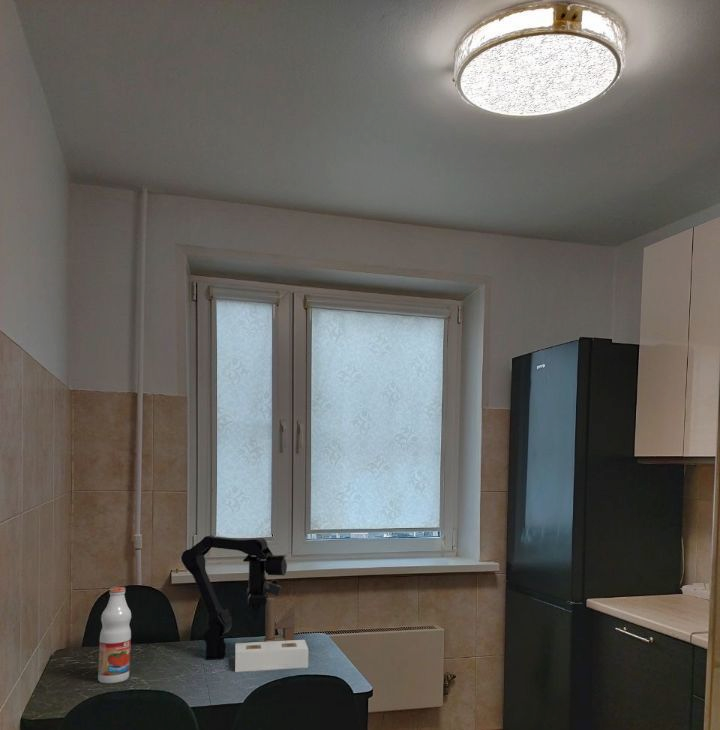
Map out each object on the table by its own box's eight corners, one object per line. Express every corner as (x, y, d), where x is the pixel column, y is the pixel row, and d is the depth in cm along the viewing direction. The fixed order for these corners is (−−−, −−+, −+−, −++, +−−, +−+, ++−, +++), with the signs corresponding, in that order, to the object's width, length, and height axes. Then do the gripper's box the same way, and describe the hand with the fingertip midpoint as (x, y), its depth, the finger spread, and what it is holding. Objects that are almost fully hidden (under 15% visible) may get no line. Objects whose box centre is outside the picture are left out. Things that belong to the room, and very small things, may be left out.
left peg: (246, 666, 226) (247, 649, 227) (246, 662, 230) (246, 645, 231) (260, 665, 227) (260, 648, 227) (259, 661, 231) (259, 645, 232)
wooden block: (294, 648, 250) (294, 597, 252) (265, 651, 246) (266, 599, 249) (291, 645, 253) (292, 595, 256) (263, 648, 249) (264, 597, 252)
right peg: (282, 664, 228) (282, 647, 229) (281, 660, 232) (282, 643, 233) (295, 663, 229) (295, 646, 230) (294, 659, 233) (294, 643, 234)
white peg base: (235, 671, 221) (235, 652, 222) (235, 661, 233) (235, 643, 234) (308, 667, 226) (308, 648, 227) (304, 657, 237) (304, 639, 238)
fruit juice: (114, 673, 221) (118, 584, 225) (135, 677, 216) (139, 586, 220) (91, 681, 213) (95, 589, 217) (112, 685, 208) (116, 591, 212)
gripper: (281, 578, 232) (281, 625, 230) (278, 569, 250) (277, 613, 248) (248, 579, 230) (247, 627, 227) (247, 570, 248) (246, 615, 246)
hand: (256, 620), depth 237 cm, fingers closed
